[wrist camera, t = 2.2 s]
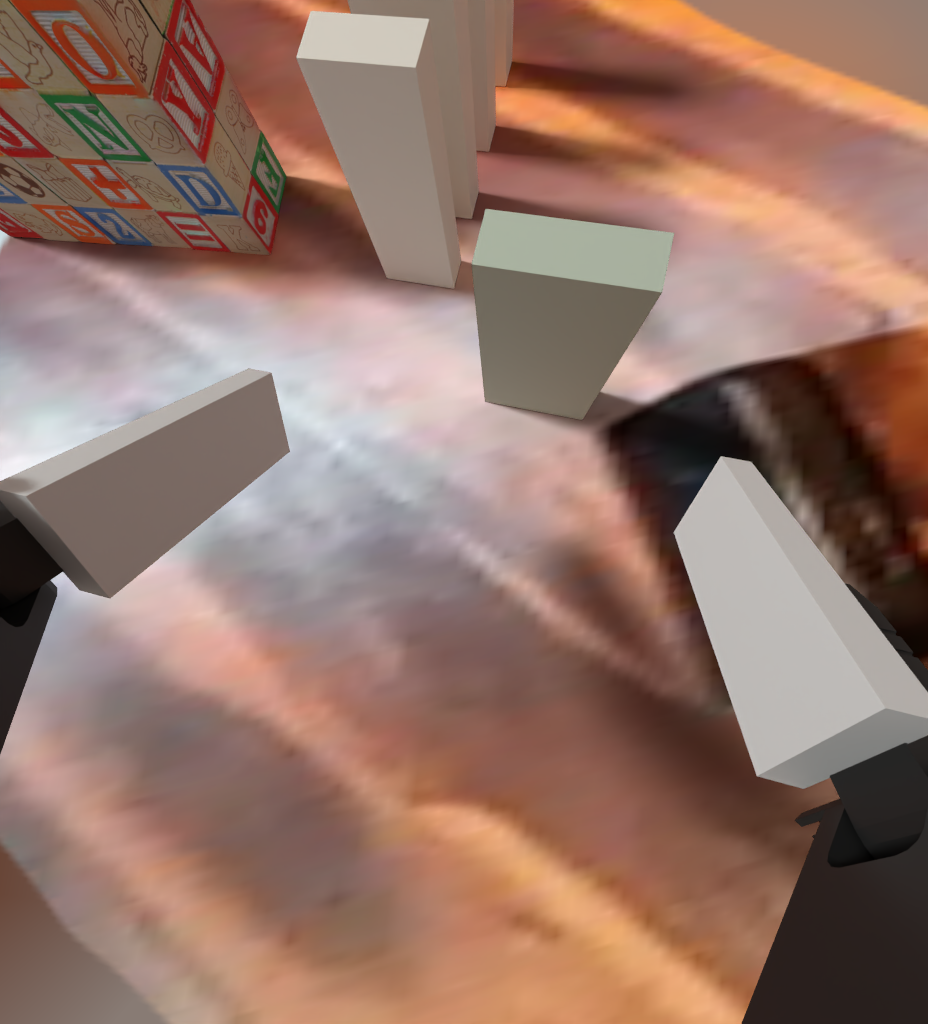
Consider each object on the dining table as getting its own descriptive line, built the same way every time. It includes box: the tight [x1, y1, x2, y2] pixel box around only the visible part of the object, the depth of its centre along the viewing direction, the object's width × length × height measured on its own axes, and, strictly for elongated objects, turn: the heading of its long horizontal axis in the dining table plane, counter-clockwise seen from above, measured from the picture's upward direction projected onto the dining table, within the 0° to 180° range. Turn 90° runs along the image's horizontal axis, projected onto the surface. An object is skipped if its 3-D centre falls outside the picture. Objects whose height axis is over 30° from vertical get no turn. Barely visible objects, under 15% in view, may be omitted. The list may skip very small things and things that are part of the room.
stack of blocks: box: [0, 0, 286, 255], centre depth 21 cm, size 21×6×12 cm, turn 82°
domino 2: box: [296, 11, 461, 289], centre depth 19 cm, size 2×5×11 cm, turn 77°
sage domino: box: [472, 209, 674, 420], centre depth 17 cm, size 2×6×11 cm, turn 77°
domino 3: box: [468, 0, 496, 152], centre depth 20 cm, size 2×5×11 cm, turn 77°
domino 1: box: [348, 0, 479, 219], centre depth 19 cm, size 2×5×11 cm, turn 76°
